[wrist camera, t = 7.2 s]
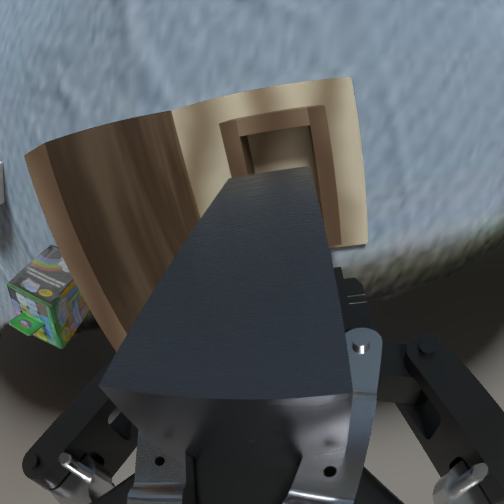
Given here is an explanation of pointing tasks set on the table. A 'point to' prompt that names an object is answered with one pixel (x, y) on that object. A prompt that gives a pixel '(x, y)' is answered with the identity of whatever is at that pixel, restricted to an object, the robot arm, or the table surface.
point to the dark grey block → (243, 334)
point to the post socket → (189, 183)
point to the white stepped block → (1, 184)
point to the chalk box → (47, 299)
